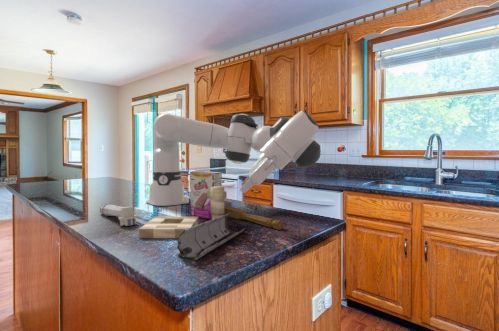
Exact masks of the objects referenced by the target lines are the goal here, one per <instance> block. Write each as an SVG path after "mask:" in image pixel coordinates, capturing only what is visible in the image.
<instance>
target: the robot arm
mask: <svg viewBox="0 0 499 331" xmlns="http://www.w3.org/2000/svg"><path fill="white" fill-rule="evenodd" d="M229 123H230V125H229V127H226V126H223V125H219V124H216V123H211V122H207V121H202V120H196V119H192V118H188V117H184V116H180V115H176V114H171V113H162V114H160V115H158V116H157V117H155V119H154V121H153V125H152V139H153V140H152V141H153V172H152V180H153V181H152V182H151V183H150V184H149V197H148V200H146V201H145V202H146V204H150V205H153V206H158V207H159V206H162V207H163V206H164V207H167V206H169V207H170V206H178V205H184V204H189V202H190V197H189V195H186V194H187V193H186V192H185V186H184V183H183V182H182V180H181V179H182V172H181V171H180V170H181V169H180V168H181V166H180V144H182V143H183V144H187V145H193V146H198V147H205V148H211V149H226V150H222V153H223V154H224V155H225V157H226V159H227V160H228V161H230V162H231V163H233V164H239V165H241V164H245V163H247V162H248V161H249V159H250V156H251V154H250V153H251V151H252V149H253V151H256V152H257V153H259V154H260V155H259V157H258V159H257V160H256V161H255V162H254V164H253V165H252V166H251V167H250V169H249V174H248V175H247V176H246V178H245V179H244V181H242V182H241V187H240V192H242V193H243V194H246V193H247V192H248V190H250V189H251V188H253V187H254V186H255V185H256V186H260V185H261V184H262V183H263V182H264V181H265V180H266V179H267V178H268V177H269V176H270V175H271V173H273V172H275V171H276V170H277V169H279V171H282V170H283V169H284V168H285V166H286V165H288V164H289V163H294V164H295V165H296V167H297V168H302V169H303V168H310V167H312V166H313V165H315V164H316V163H317V162H318V161H319V159H320V157H321V152H322V150H321V145H320V144H319V143H318V142H317V141H316V140H314V139H313V137H314V135H316V133H317V131H318V130H319V124H318V122H316V120H315V119H314V118H313V117H312V116H311V115H310V114H309V113H308V112H306V111H305V110H300V111H298V112H297V113H296V114H295V115H293V116H292V117H289V116H280V117H279V118H278V120H277V121H276V122H275V123H273V125H272V126H271V125H264V126H260V127H259V124H257V123H256V121H255V119H254V118H253V117H252V116H250V115H249V114H247V113H237V114H234V115H232V117H231V119H230V122H229ZM258 127H259V128H258ZM179 143H180V144H179Z"/></svg>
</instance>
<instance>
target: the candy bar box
mask: <svg viewBox="0 0 499 331" xmlns="http://www.w3.org/2000/svg"><path fill="white" fill-rule="evenodd" d="M222 179H223V178H222V172H218V171H217V172H216V171H206V170H194V171H190V172H189V185H190V187H189V188H190V190H189V191H190V197H189V200H190V217H198V219H199V218H201V219H205V220H212V214H211V193H210V187H216V186H220V187H223V184H222V183H223V182H222V181H223V180H222Z"/></svg>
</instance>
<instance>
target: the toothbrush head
mask: <svg viewBox="0 0 499 331" xmlns="http://www.w3.org/2000/svg"><path fill="white" fill-rule="evenodd" d="M99 213H100V214H101V215H104V216H105V217H107V216H108V217H109V216H112V217H113V216H114V217H118V220H119V225H120V226H121V227H124V226H125V227H128V226H134V225H136V224H137V218H138V217H137V214H135V211H134V207H133V206H120V205H114V204H112V203H105V204H102V205H101V206H100V208H99Z"/></svg>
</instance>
